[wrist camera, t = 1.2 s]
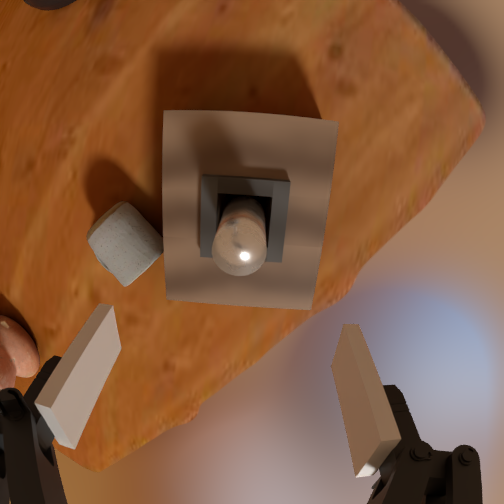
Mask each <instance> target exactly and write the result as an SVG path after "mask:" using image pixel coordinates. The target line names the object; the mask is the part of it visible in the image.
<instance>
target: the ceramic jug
mask: <svg viewBox="0 0 504 504" xmlns="http://www.w3.org/2000/svg"><path fill="white" fill-rule="evenodd" d="M39 365H40V357H39V353H38V350H37V348H36V345H35V343H34V341H33V340H32V338H31V337H30V335H29V334H28V333H27V332H26V331H25V330H24V329H23V328H22V327H21V326H20V325H19V324H18V323H17V322H15V321H14V320H12V319H11V318H9V317H6V316H3V315H0V391H1V390H2V389H5V388H14V384H15V377H16V376H19V377H31V376H33V375H34V374H35V373H36V372H37V371H38V369H39Z"/></svg>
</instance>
